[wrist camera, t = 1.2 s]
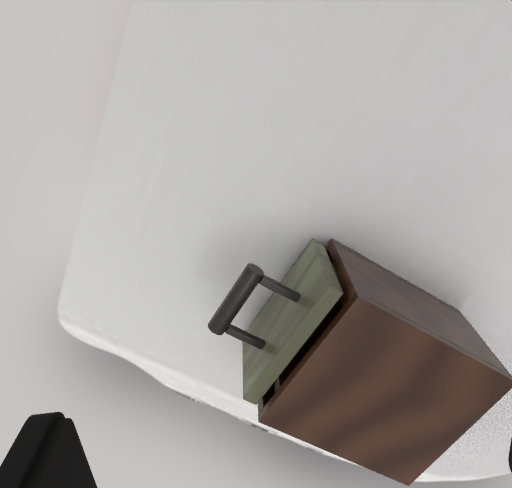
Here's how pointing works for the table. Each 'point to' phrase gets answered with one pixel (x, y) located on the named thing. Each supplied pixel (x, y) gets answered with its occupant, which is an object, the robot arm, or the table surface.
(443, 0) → the table surface
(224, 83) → the table surface
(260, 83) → the table surface
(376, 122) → the table surface
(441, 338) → the cabinet
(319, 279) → the drawer
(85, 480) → the robot arm
